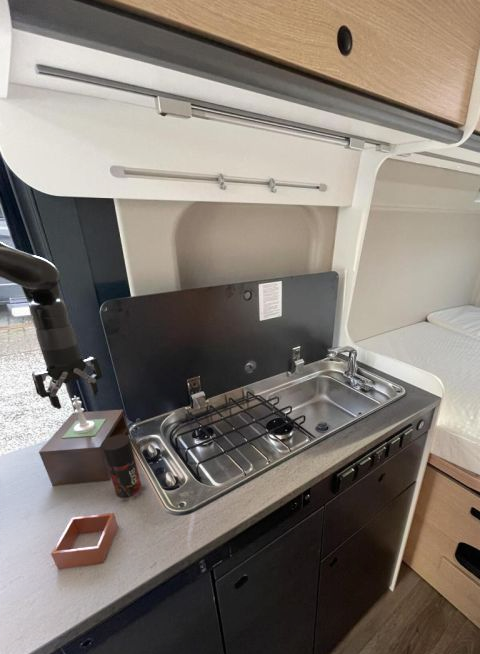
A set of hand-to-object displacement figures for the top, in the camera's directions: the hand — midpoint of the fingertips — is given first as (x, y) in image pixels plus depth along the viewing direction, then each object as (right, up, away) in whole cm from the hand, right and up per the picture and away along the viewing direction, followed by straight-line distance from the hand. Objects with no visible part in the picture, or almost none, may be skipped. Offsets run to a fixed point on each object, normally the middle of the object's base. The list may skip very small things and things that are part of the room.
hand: (76, 401), depth 86 cm
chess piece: (0, -8, +4) cm, 9 cm away
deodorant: (+15, -23, -1) cm, 27 cm away
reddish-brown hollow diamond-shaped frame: (+14, -29, -16) cm, 36 cm away
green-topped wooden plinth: (0, -18, +8) cm, 20 cm away
